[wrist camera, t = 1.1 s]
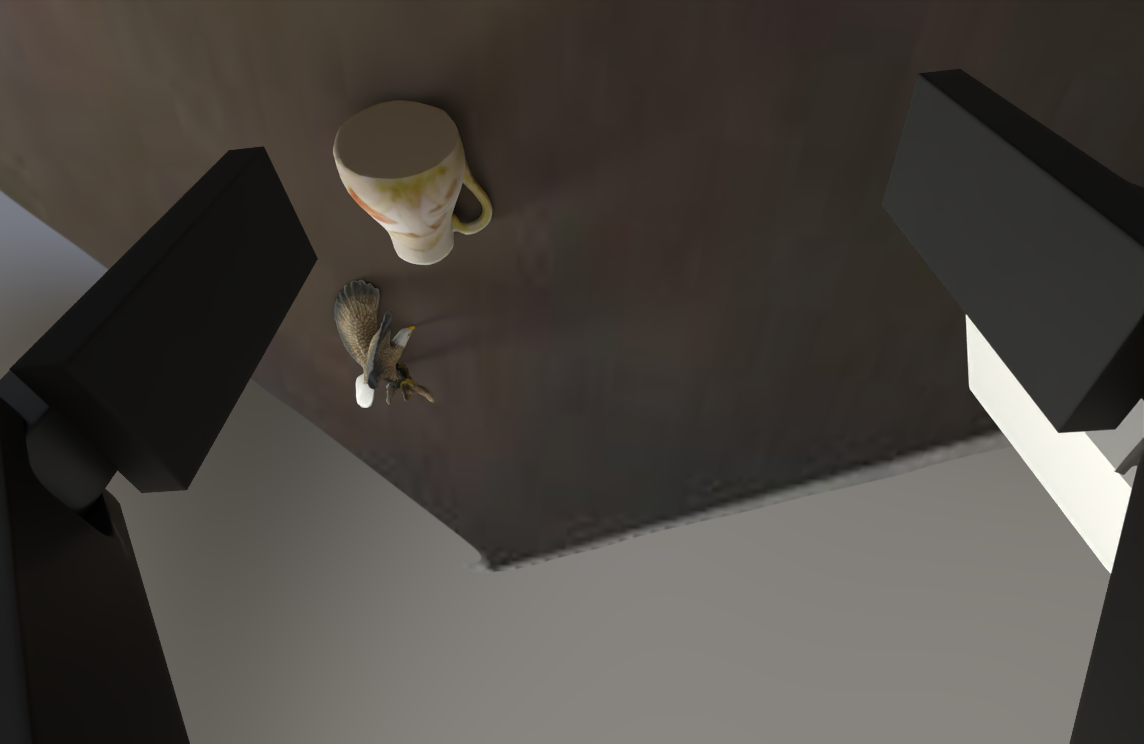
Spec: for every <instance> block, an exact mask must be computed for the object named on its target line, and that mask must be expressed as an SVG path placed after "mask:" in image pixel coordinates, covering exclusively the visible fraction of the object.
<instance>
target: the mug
mask: <svg viewBox="0 0 1144 744" xmlns="http://www.w3.org/2000/svg"><path fill="white" fill-rule="evenodd" d="M333 152H334V158H335V161H336V165H337V168H338V171H339V174H340V177H341V180H342V182H343V184H344V185H345V187H346V189H347V190H348V192H349V193H350V195H351V196H352V197H353V199H354V200H355V201H356V202H357V203H358V204H359V205H360V206H361V207H362V208H363V209H364V210H365V211H366V212H367V213H368V214H370V215H371V216H372V217H373V218H374V219H375V220H376V221H378V222H379V223H380V224H381V225H382V226H383V227H384V228H385V229H386V230H387V231H388V233H389V235H390V236H391V239H392V241H393V244H394V248H395V250H396V252H397V254H398V256H399V257H400V258H402V259H403V260H405V261H408V262H411V263H413V264H420V265H429V264H433V263H436V262H438V261H440V260H442V259H443V258H444V257H446V256H447V255H448V254H449V252H450V251H451V250H452V248H453V245H454V235H453V233H454V232H455V231H457V232H461V233H463V234H465V235H467V234H474V233H477V232H479V231H480V230H482V229H483V228H484V227H486V226H487V225H488V223H489V222H490V220H491V217H492V205H491V202H490V199H489V197H488V195H487V194H486V193H485V192H484V190H483V189H482V188H481V187H480V185H479V184H478V183H477V181H476V180H475V178H474V177H473V175H472V173H471V171H470V169H469V166H468V163H467V160H466V159H465V154H464V149H463V145H462V141H461V138H460V135H459V132H458V129H457V127H456V125H455V123H454V121H453V120H452V119H451V118H450V116H449V115H448V114H447V113H446V112H445V111H444V110H442V109H439V108H436V107H433V106H431V105H426V104H422V103H419V102H416V101H409V100H393V101H388V102H382V103H379V104H375V105H373V106H370V107H368V108H366V109H364V110H362V111H360V112H358V113H357V114H356V115H354V116H352V117H351V118H350V119H348V120H347V121H346V122H345V123H344V124H342V126H341V127H340V128H339V129H338V132H337V135H336V139H335V143H334V148H333ZM462 183H464V184H465V186H466V187H467V188H469V189H470V190H471V191H472V193H473V194H474V195H475V196H476V197H477V199H478V200H479V201H480V203H481V205H482V213H481V215H480V217H479V218H478V219H476V220H474V221H471V222H469V223H462V222H460V221H459V220H458V218H457V216H456V215H455V214H453V210H454V207H455V204H456V201H457V198H458V195H459V193H460V190H461V187H462Z"/></svg>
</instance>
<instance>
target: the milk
mask: <svg viewBox="0 0 1144 744" xmlns="http://www.w3.org/2000/svg"><path fill="white" fill-rule="evenodd" d="M966 328H967V351H968V374H969V389H970V390H971V391H972V393H973V394H974V395H975V397H976V398H977V399H978V400H979V402H980V403H981V404H982V406H983V407H984V408H985V410H986V411H987V412H988V414H989V415H990V416H991V418H992V419H993V420H994V422H995V423H996V424H997V426H998V427H999V428H1000V430H1001V431H1002V432H1003V433H1004V435H1005V436H1006V437H1007V439H1008V440H1009V441H1010V443H1011V444H1012V445H1013V447H1014V448H1015V449H1016V450H1017V452H1018V453H1019V455H1020V456H1021V457H1022V459H1023V460H1024V461H1025V462H1026V464H1027V465H1028V466H1029V468H1030V469H1031V470H1032V472H1033V473H1034V474H1035V475H1036V477H1037V478H1038V480H1039V481H1040V482H1041V484H1042V485H1043V486H1044V488H1045V489H1046V490H1047V491H1048V493H1049V494H1050V495H1051V497H1052V498H1053V499H1054V501H1055V502H1056V503H1057V505H1058V506H1059V507H1060V509H1061V510H1062V511H1063V513H1064V514H1065V515H1066V517H1067V518H1068V519H1069V520H1070V522H1071V523H1072V524H1073V526H1074V527H1075V528H1076V530H1077V531H1078V532H1079V534H1080V535H1081V536H1082V538H1083V539H1084V540H1085V542H1086V543H1087V544H1088V546H1089V547H1090V548H1091V549H1092V551H1093V552H1094V553H1095V555H1096V556H1097V557H1098V559H1099V560H1100V561H1101V563H1102V564H1103V565H1104V567H1105V568H1106V569H1107V570H1108V571H1109V572H1110V573H1111V572H1112V568H1113V564H1114V560H1115V556H1116V551H1117V547H1118V543H1119V539H1120V535H1121V531H1122V527H1123V523H1124V519H1125V515H1126V510H1127V506H1128V502H1129V498H1130V494H1131V490H1132V486H1133V482H1134V478H1135V474H1136V470H1137V466H1133V467H1131V468H1130V469H1129V470H1128V472H1127V473H1126V474H1125V475H1122V474H1119V473H1117V472H1114V471H1115V470H1116V469H1117V467H1118V466H1119V465H1120V463H1121V462H1122V461H1123V460H1124V459H1125V458H1126V456H1127V455H1128V454H1129V453H1130V452H1131V451H1132V450H1133V449H1134V447H1135V446H1136V445H1137V444H1138V443H1139V442H1140V441H1141V439H1142V438H1143V437H1144V401H1143V399H1142V398H1141V399H1140V400H1139V402H1138V403H1137V404H1136V405H1135V407H1134V408H1133V409H1132V410H1131V411H1130V413H1129V414H1128V415H1127V416H1126V418H1125V419H1124V420H1123V421H1122V422H1121V424H1120V425H1119V426H1118V427H1117V428H1116V429H1115V430H1099V431H1084V432H1069V433H1058V432H1057V431H1056V429H1055V428H1054V427H1053V426H1052V424H1051V423H1050V422H1049V420H1048V419H1047V418H1046V417H1045V415H1044V414H1043V413H1042V411H1041V410H1040V409H1039V408H1038V406H1037V405H1036V404H1035V402H1034V401H1033V400H1032V399H1031V397H1030V396H1029V395H1028V393H1027V392H1026V391H1025V389H1024V388H1023V387H1022V386H1021V384H1020V383H1019V382H1018V380H1017V379H1016V378H1015V377H1014V375H1013V374H1012V373H1011V371H1010V370H1009V369H1008V368H1007V366H1006V365H1005V364H1004V362H1003V361H1002V360H1001V359H1000V357H999V356H998V355H997V353H996V352H995V351H994V350H993V348H992V347H991V346H990V344H989V343H988V342H987V340H986V339H985V338H984V337H983V335H982V334H981V333H980V331H979V330H978V329H977V328H976V326H975V325H974V324H973V322H972V321H971V320H970V319H969V317H968V316H967V315H966Z"/></svg>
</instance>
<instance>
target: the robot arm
mask: <svg viewBox="0 0 1144 744" xmlns="http://www.w3.org/2000/svg"><path fill="white" fill-rule="evenodd" d="M882 206H883V208H884V209H885V210H886V212H887V213H888V214H889V215H890V217H891V218H892V219H893V221H894V222H895V223H896V224H897V226H898V227H899V228H900V230H901V231H902V232H903V233H904V235H905V236H906V237H907V239H908V240H909V241H910V242H911V244H912V245H913V246H914V248H915V249H916V250H917V252H918V253H919V254H920V255H921V257H922V258H923V259H924V261H925V262H926V263H927V264H928V266H929V267H930V268H931V270H932V271H933V272H934V273H935V275H936V276H937V277H938V279H939V280H940V281H941V282H942V284H943V285H944V286H945V288H946V289H947V290H948V291H949V293H950V294H951V295H952V297H953V298H954V299H955V301H956V302H957V303H958V304H959V306H960V307H961V308H962V310H963V311H964V312H965V313H966V315H967V316H968V317H969V319H970V320H971V321H972V322H973V324H974V325H975V326H976V328H977V329H978V330H979V331H980V333H981V334H982V335H983V337H984V338H985V339H986V340H987V342H988V343H989V344H990V346H991V347H992V348H993V350H994V351H995V352H996V353H997V355H998V356H999V357H1000V359H1001V360H1002V361H1003V362H1004V364H1005V365H1006V366H1007V368H1008V369H1009V370H1010V371H1011V373H1012V374H1013V375H1014V377H1015V378H1016V379H1017V380H1018V382H1019V383H1020V384H1021V386H1022V387H1023V388H1024V389H1025V391H1026V392H1027V393H1028V395H1029V396H1030V397H1031V399H1032V400H1033V401H1034V402H1035V404H1036V405H1037V406H1038V408H1039V409H1040V410H1041V411H1042V413H1043V414H1044V415H1045V417H1046V418H1047V419H1048V420H1049V422H1050V423H1051V424H1052V426H1053V427H1054V428H1055V429H1056V431H1057V432H1058V433H1069V432H1084V431H1099V430H1115V429H1116V428H1117V427H1118V426H1119V425H1120V424H1121V422H1122V421H1123V420H1124V419H1125V418H1126V416H1127V415H1128V414H1129V413H1130V411H1131V410H1132V409H1133V408H1134V407H1135V405H1136V404H1137V403H1138V402H1139V400H1140V399H1141V398H1142V399H1143V401H1144V188H1143V187H1140V186H1138V185H1135V184H1132V183H1130V182H1127V181H1125V180H1124V179H1122V178H1121V177H1119V176H1118V175H1116V174H1115V173H1113V172H1112V171H1111V170H1109V169H1108V168H1106V167H1105V166H1103V165H1102V164H1100V163H1099V162H1097V161H1096V160H1094V159H1093V158H1091V157H1090V156H1088V155H1087V154H1085V153H1084V152H1082V151H1081V150H1079V149H1078V148H1076V147H1075V146H1074V145H1072V144H1071V143H1069V142H1068V141H1066V140H1065V139H1063V138H1062V137H1060V136H1059V135H1057V134H1056V133H1054V132H1053V131H1051V130H1050V129H1048V128H1047V127H1045V126H1044V125H1042V124H1041V123H1039V122H1038V121H1037V120H1035V119H1034V118H1032V117H1031V116H1029V115H1028V114H1026V113H1025V112H1023V111H1022V110H1020V109H1019V108H1017V107H1016V106H1014V105H1013V104H1011V103H1010V102H1008V101H1007V100H1005V99H1004V98H1002V97H1001V96H999V95H998V94H997V93H995V92H994V91H992V90H991V89H989V88H988V87H986V86H985V85H983V84H982V83H980V82H979V81H977V80H976V79H974V78H973V77H971V76H970V75H968V74H967V73H965V72H964V71H962V70H961V69H955V70H946V71H937V72H928V73H919V74H918V77H917V80H916V84H915V87H914V91H913V95H912V98H911V102H910V105H909V109H908V112H907V116H906V120H905V123H904V127H903V130H902V134H901V137H900V141H899V144H898V148H897V152H896V155H895V159H894V162H893V166H892V169H891V173H890V177H889V180H888V184H887V187H886V191H885V194H884V198H883V202H882ZM317 259H318V258H317V256H316V254H315V252H314V250H313V248H312V246H311V244H310V242H309V240H308V237H307V235H306V233H305V231H304V229H303V227H302V225H301V223H300V221H299V219H298V217H297V215H296V212H295V210H294V208H293V206H292V204H291V202H290V200H289V198H288V196H287V194H286V192H285V190H284V187H283V185H282V183H281V181H280V179H279V177H278V175H277V173H276V171H275V169H274V167H273V165H272V162H271V160H270V158H269V156H268V154H267V152H266V150H265V148H264V146H263V147H254V148H245V149H237V150H229V151H228V152H227V153H226V154H225V155H224V156H223V157H222V158H221V159H220V160H219V161H218V162H217V163H216V164H215V165H214V166H213V167H212V168H211V169H210V170H209V171H208V172H207V173H206V174H205V175H204V176H203V177H202V178H201V179H200V180H199V181H198V182H197V183H196V184H195V185H194V186H193V187H192V188H191V189H190V190H189V191H188V192H187V193H186V194H185V195H184V196H183V197H182V198H181V199H180V200H179V201H178V202H177V203H176V204H175V205H174V206H173V207H172V208H171V209H170V210H169V211H168V212H167V213H166V214H165V215H164V216H163V217H162V218H161V219H159V220H158V221H157V222H156V223H155V224H154V225H153V226H152V227H151V228H150V229H149V230H148V231H147V232H146V233H145V234H144V235H143V236H142V237H141V238H140V239H139V240H138V241H137V242H136V243H135V244H134V245H133V246H132V247H131V248H130V249H129V250H128V251H127V252H126V253H125V254H124V255H123V256H122V257H121V258H120V259H119V260H118V261H117V262H116V263H115V264H114V265H113V266H112V267H111V268H110V269H109V270H108V271H107V272H106V273H105V274H104V275H103V277H101V278H100V279H99V280H98V281H97V282H96V283H95V284H94V285H93V286H92V287H91V288H90V289H89V290H88V291H87V292H86V293H85V294H84V295H83V296H82V297H81V298H80V299H79V300H78V301H77V302H76V303H75V304H74V305H73V306H72V307H71V308H70V309H69V310H68V311H67V312H66V313H65V314H64V315H63V316H62V317H61V318H60V319H59V320H58V321H57V322H56V323H55V324H54V325H53V326H52V327H51V328H50V329H49V330H48V331H47V332H46V333H45V334H44V335H43V336H42V337H41V338H40V339H39V340H38V341H37V342H36V343H35V344H34V345H33V346H32V347H31V348H30V349H29V350H28V351H27V352H26V353H25V354H24V355H23V356H22V357H21V358H20V359H19V360H18V361H17V362H16V363H15V364H14V365H13V366H12V367H11V368H10V371H9V372H8V373H7V374H6V375H5V376H4V377H3V378H2V379H1V380H0V744H190V743H189V739H188V736H187V732H186V729H185V725H184V722H183V719H182V715H181V712H180V708H179V705H178V702H177V698H176V695H175V691H174V688H173V684H172V681H171V677H170V674H169V671H168V667H167V664H166V660H165V657H164V654H163V650H162V647H161V643H160V640H159V636H158V633H157V630H156V626H155V623H154V619H153V616H152V613H151V609H150V606H149V602H148V599H147V595H146V592H145V589H144V585H143V582H142V578H141V575H140V572H139V568H138V564H137V561H136V558H135V555H134V551H133V548H132V544H131V541H130V538H129V534H128V530H127V527H126V523H125V520H124V517H123V513H122V510H121V507H120V503H119V502H118V501H117V500H116V498H115V497H114V496H113V495H112V494H111V493H109V492H108V491H107V490H106V489H105V488H106V486H107V485H108V483H109V482H110V480H111V479H112V477H113V476H114V475H115V473H116V472H117V470H118V471H119V472H120V473H121V474H122V475H123V476H124V477H125V478H126V479H127V480H128V481H129V482H131V483H132V484H133V485H134V486H135V487H136V488H137V489H138V490H139V491H140V492H141V493H148V492H164V491H179V490H187V489H188V487H189V485H190V484H191V482H192V480H193V478H194V477H195V475H196V473H197V471H198V469H199V468H200V466H201V464H202V462H203V461H204V459H205V457H206V455H207V454H208V452H209V450H210V448H211V446H212V445H213V443H214V441H215V439H216V438H217V436H218V434H219V432H220V431H221V429H222V427H223V425H224V424H225V422H226V420H227V418H228V417H229V415H230V413H231V411H232V409H233V408H234V406H235V404H236V402H237V401H238V399H239V397H240V395H241V393H242V392H243V390H244V388H245V386H246V385H247V383H248V381H249V379H250V378H251V376H252V374H253V372H254V371H255V369H256V367H257V365H258V364H259V362H260V360H261V358H262V356H263V355H264V353H265V351H266V349H267V348H268V346H269V344H270V342H271V341H272V339H273V337H274V335H275V333H276V332H277V330H278V328H279V326H280V325H281V323H282V321H283V319H284V318H285V316H286V314H287V312H288V310H289V309H290V307H291V305H292V303H293V302H294V300H295V298H296V296H297V295H298V293H299V291H300V289H301V288H302V286H303V284H304V282H305V280H306V279H307V277H308V275H309V273H310V272H311V270H312V268H313V266H314V265H315V263H316V261H317ZM1133 466H1137V470H1136V474H1135V478H1134V482H1133V486H1132V490H1131V494H1130V498H1129V502H1128V506H1127V510H1126V515H1125V519H1124V523H1123V527H1122V531H1121V535H1120V539H1119V543H1118V547H1117V551H1116V556H1115V560H1114V564H1113V568H1112V572H1111V576H1110V580H1109V584H1108V588H1107V592H1106V597H1105V601H1104V605H1103V609H1102V613H1101V617H1100V621H1099V626H1098V629H1097V633H1096V638H1095V642H1094V646H1093V650H1092V655H1091V658H1090V662H1089V666H1088V670H1087V674H1086V679H1085V683H1084V687H1083V691H1082V695H1081V699H1080V703H1079V708H1078V711H1077V715H1076V719H1075V724H1074V728H1073V732H1072V736H1071V740H1070V744H1144V437H1143V438H1142V439H1141V441H1140V442H1139V443H1138V444H1137V445H1136V446H1135V447H1134V449H1133V450H1132V451H1131V452H1130V453H1129V454H1128V455H1127V456H1126V458H1125V459H1124V460H1123V461H1122V462H1121V463H1120V465H1119V466H1118V467H1117V469H1116V470H1115V471H1114V472H1117V473H1119V474H1122V475H1125V474H1126V473H1127V472H1128V470H1129V469H1130V468H1131V467H1133Z"/></svg>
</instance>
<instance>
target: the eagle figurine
mask: <svg viewBox="0 0 1144 744" xmlns="http://www.w3.org/2000/svg"><path fill="white" fill-rule="evenodd" d="M379 298H380V291H379V289H378V288H374V287H373V285H372V284H371V283H368V284H366V283H365V282H364V281H363V280H359V281H356V280H353V281H352V282H351V284H350V285H345V287H344V293H342V292H340V293H339V298H336V302H335V309H334V313H335V316H334V318H335V320H336V325H337V328H338V331H339V332H340V333H339V334H340V336H341V339H342V341H343V344H344V345H345V347H346V349H347V351H348V352H349V353H350V355H351V356H352V357H353V358H354V360H355V361H357V362H358V363H359V364H360V365H361V366H362V368H364V374H362V375H360V376H359V377H358V378H357V380H356V398H357V402H358V404H359V405H360V406H361V407H364V408H367V407H370V406H371V405H372V403H373V400H374V395H375V389H378V382H379V381H380V380H382V379H384V380H386V381H388V382H390V383H389V384H388V385H387V387H386V388H387V389H388V388H389V389H388V390H387V399H386V400H387V403H388V405H390V403H391V398H392V396H393V395H394V394H395V392H397V391H398V390H399V389H400V387H402V393H403V396H404V400H405V401H409V400H410V399H411V398H412V396H413V391H414V392H418V393H420V394H422V395H424V396H425V397H427V399H428V400H429V401H431V402H435V398H434V396H433V395H432V393H431V392H430V391H429V390H428V389H426V388H425V387H423V386H420V385H419V384H418V383H416V382H415V381H414V380H412V378H411V377H410V376H409V372H408V368H407V367H406V365H405V364H403V363H402V362H400V363H399V364H398V363H397V362H398V360H399V359H400V357H401V356H402V353H403V350H404V348H405V346H406V343H407V341H408V339H409V337H410V335H411V332H412V331H413V330H414V329H415V326H410V327H408V328H404V329H402V330H400V331H399V333H398V334H397V335H396V336H395V337H394V339H392V340H391V341H390V335H391V329H390V324H391V320H392V311H387V312H386V313H385V315H384V319H383V322H382V323H381V327H380V330H379V329H378V321H377V311H378V306H379Z"/></svg>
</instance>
